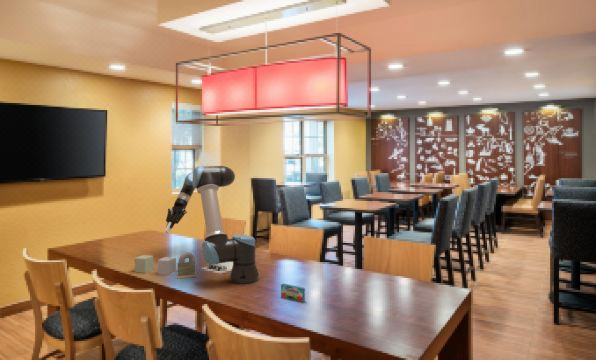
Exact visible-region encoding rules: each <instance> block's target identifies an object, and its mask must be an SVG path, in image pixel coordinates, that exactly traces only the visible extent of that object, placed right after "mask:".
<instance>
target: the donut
mask: <svg viewBox="0 0 596 360" xmlns="http://www.w3.org/2000/svg"><path fill="white" fill-rule="evenodd" d="M178 258H179V259H178V263H180V262H186V261H185V260H186V259H188V262H191V261H195V262H196V257H195V255H194V253H192V252H190V251H186V252H183V253H182V254H181V255H180V256H179V257H178Z"/></svg>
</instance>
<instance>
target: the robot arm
mask: <svg viewBox="0 0 596 360" xmlns="http://www.w3.org/2000/svg"><path fill="white" fill-rule="evenodd" d="M235 179H236V174H235V171H234V170H233V169H232V168H230V167H228V166H224V165H218V166H217V165H210V166H208V165H206V166H205V165H202V166H196V167H195V168H194V169H193V172H189V173H188V174H187V175H186V176H185V178H184V182H183V185H182V187H181V190H180V192H179V193H178V195H177V197H176V199H175V201H174V203H173V206H172V208H167V215H166V218H165V219H166V220H165V221H166V225H165V226H166V227H165V229H164V232H165V233H166V234H167V235H169V234H170V232H171V230H172V229H173V228H174V227H175V224H176V225H177V224H179V223H180V222H181V220H182V219H183V217H184V216H185V215H186V214H187V213H188V211H187V210H186V208H187V206H188V204H189V202H190V200H191V197H192V195H193V194H194V192H195V190H196V191H197V193H198V194H200V198H201V205H202V212H203V217H204V225H205V231H206V237H204V241H202V244H201V248H202V254H203V255H202V256H203V258H204V260H205V261H206V263H207V264H208V265H215V264H216V265H218V264H222V263H223V264H225V263H230V262H232V268H231V271H230V275H229V281H230V282H231V283H234V284H239V285H240V284H241V285H242V284H252V283H255V282H257V281H259V279H260V274H259V271H258V267H257V264H256V239H255V238H254V237H253V236H252V235H246V234H234V235H232V238H228V234H227V233H225V232H224V226H223V221H222V215H221V210H220V203H219V197H218V191H219V189H220V188H221V187H222V188H224V187H228V186H230V185H232V184H233V182H234V181H235Z"/></svg>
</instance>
